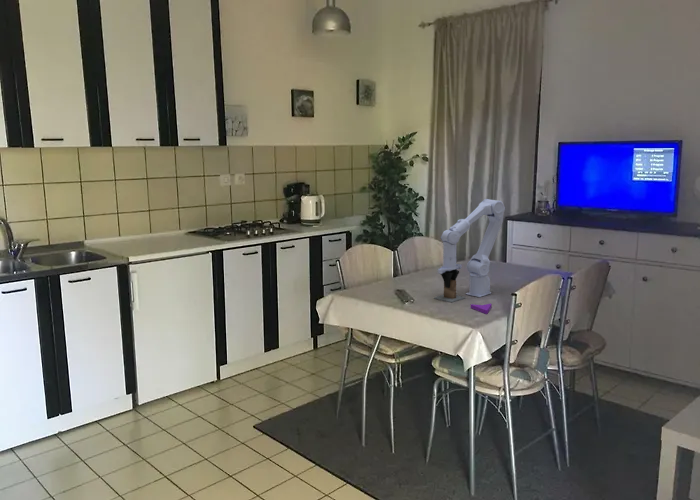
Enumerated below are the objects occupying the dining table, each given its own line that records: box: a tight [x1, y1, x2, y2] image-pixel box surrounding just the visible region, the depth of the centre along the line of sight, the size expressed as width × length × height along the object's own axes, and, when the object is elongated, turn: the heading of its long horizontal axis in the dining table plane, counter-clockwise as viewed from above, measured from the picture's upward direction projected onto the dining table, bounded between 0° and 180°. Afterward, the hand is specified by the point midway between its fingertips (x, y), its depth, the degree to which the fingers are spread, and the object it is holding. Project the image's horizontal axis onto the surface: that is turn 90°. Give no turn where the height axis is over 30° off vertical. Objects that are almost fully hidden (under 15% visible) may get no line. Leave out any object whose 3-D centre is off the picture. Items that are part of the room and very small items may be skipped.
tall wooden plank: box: [443, 279, 457, 299], centre depth 263 cm, size 2×5×8 cm, turn 42°
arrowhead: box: [470, 303, 492, 315], centre depth 246 cm, size 10×2×10 cm
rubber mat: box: [433, 294, 466, 303], centre depth 264 cm, size 10×10×1 cm
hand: (449, 286), depth 263 cm, fingers closed on tall wooden plank, 2 cm apart
